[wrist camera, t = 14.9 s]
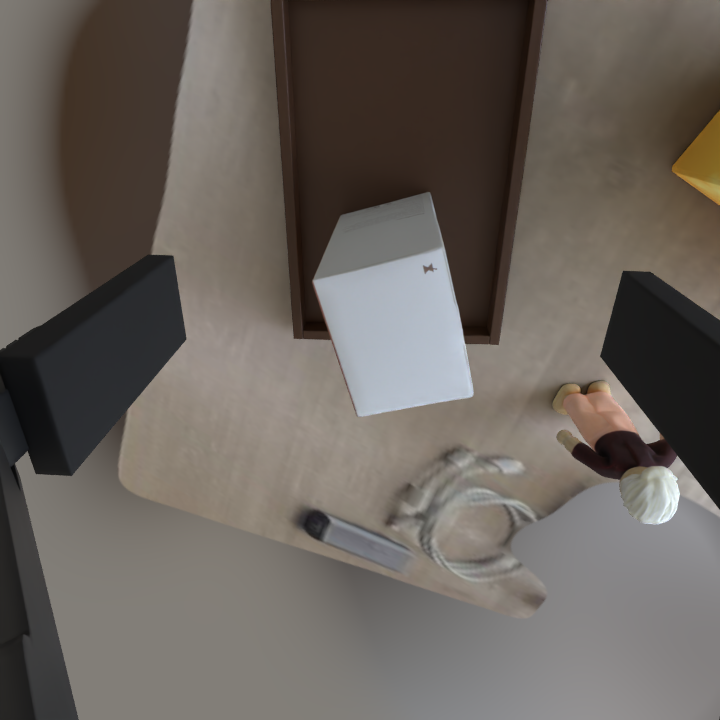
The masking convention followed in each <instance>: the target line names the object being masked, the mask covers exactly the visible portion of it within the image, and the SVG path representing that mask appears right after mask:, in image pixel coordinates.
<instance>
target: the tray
mask: <svg viewBox="0 0 720 720" xmlns="http://www.w3.org/2000/svg"><path fill="white" fill-rule="evenodd" d="M547 2H548V0H271V15H272V29H273V44H274V58H275V73H276V87H277V102H278V116H279V131H280V145H281V160H282V174H283V189H284V203H285V218H286V232H287V247H288V261H289V276H290V290H291V305H292V319H293V334H294V339H303V338H304V339H324V340H331V338H330V335H329V332H328V329H327V326H326V323H325V320H324V317H323V314H322V311H321V308H320V305H319V302H318V299H317V296H316V293H315V290H314V287H313V284H312V280H313V278H314V276H315V274H316V271H317V269H318V267H319V264H320V262H321V260H322V257H323V255H324V252H325V250H326V248H327V245H328V243H329V241H330V238H331V236H332V234H333V231H334V229H335V227H336V225H337V222H338V220H339V218H340V216H341V215H343V214H347V213H351V212H355V211H359V210H362V209H366V208H370V207H374V206H378V205H382V204H386V203H390V202H393V201H397V200H400V199H404V198H408V197H412V196H415V195H419V194H423V193H426V192H430V194H431V197H432V201H433V205H434V209H435V213H436V218H437V222H438V225H439V228H440V232H441V236H442V240H443V243H444V248H445V252H446V257H447V261H448V266H449V270H450V275H451V280H452V284H453V289H454V293H455V298H456V302H457V305H458V309H459V314H460V319H461V324H462V330H463V335H464V341H465V344H490V345H499V340H500V333H501V326H502V319H503V312H504V305H505V298H506V290H507V283H508V276H509V269H510V262H511V255H512V248H513V241H514V234H515V227H516V220H517V213H518V206H519V199H520V192H521V185H522V178H523V171H524V164H525V157H526V150H527V143H528V136H529V129H530V122H531V115H532V108H533V101H534V94H535V87H536V80H537V73H538V66H539V59H540V52H541V45H542V38H543V30H544V23H545V16H546V9H547Z"/></svg>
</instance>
